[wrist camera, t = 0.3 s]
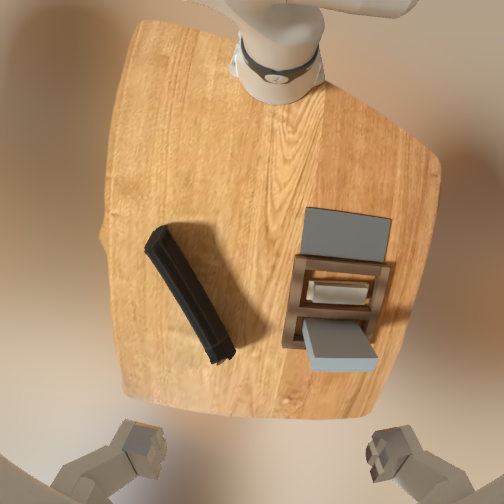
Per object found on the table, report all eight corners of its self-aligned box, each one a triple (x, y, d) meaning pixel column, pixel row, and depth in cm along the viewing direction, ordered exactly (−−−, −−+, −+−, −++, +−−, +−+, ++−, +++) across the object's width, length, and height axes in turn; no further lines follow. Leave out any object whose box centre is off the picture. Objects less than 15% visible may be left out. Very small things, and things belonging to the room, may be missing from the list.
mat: (305, 207, 53) (306, 207, 52) (389, 219, 52) (390, 219, 52) (300, 252, 55) (300, 253, 54) (382, 261, 55) (383, 262, 54)
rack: (294, 254, 55) (296, 258, 53) (385, 264, 55) (390, 267, 52) (281, 341, 60) (282, 347, 57) (364, 345, 60) (367, 351, 57)
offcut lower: (307, 277, 57) (309, 281, 55) (366, 281, 56) (369, 284, 54) (305, 295, 58) (306, 299, 56) (362, 298, 57) (365, 302, 55)
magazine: (130, 226, 46) (200, 386, 43) (144, 218, 46) (216, 381, 43) (171, 234, 63) (226, 355, 60) (183, 228, 62) (238, 350, 60)
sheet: (304, 317, 58) (314, 357, 44) (356, 320, 58) (378, 358, 44) (301, 329, 59) (311, 371, 44) (352, 332, 59) (373, 371, 44)
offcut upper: (314, 281, 55) (315, 285, 53) (364, 285, 55) (367, 288, 53) (311, 298, 56) (313, 302, 54) (361, 301, 55) (364, 304, 53)
